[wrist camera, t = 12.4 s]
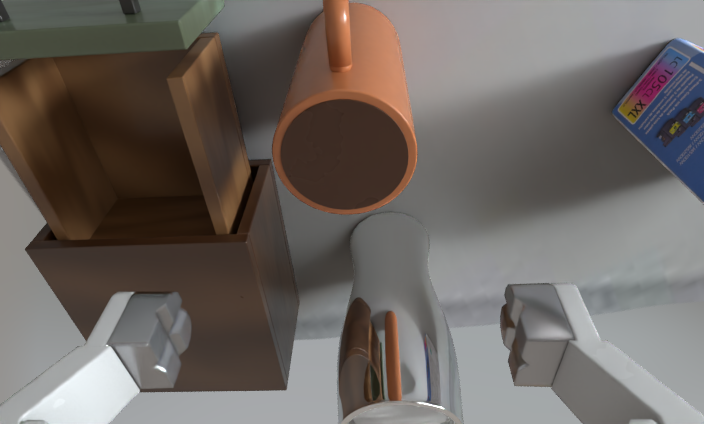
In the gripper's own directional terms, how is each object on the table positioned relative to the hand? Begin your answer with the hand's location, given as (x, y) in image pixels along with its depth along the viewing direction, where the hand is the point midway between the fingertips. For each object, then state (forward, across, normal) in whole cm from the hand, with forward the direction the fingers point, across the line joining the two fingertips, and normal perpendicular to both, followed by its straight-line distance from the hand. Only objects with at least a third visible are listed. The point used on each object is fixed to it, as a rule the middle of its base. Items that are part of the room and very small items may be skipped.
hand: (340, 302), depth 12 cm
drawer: (+18, +12, +1) cm, 22 cm away
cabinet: (+19, +12, +15) cm, 27 cm away
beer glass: (+19, -2, +16) cm, 25 cm away
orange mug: (+19, 0, -1) cm, 19 cm away
